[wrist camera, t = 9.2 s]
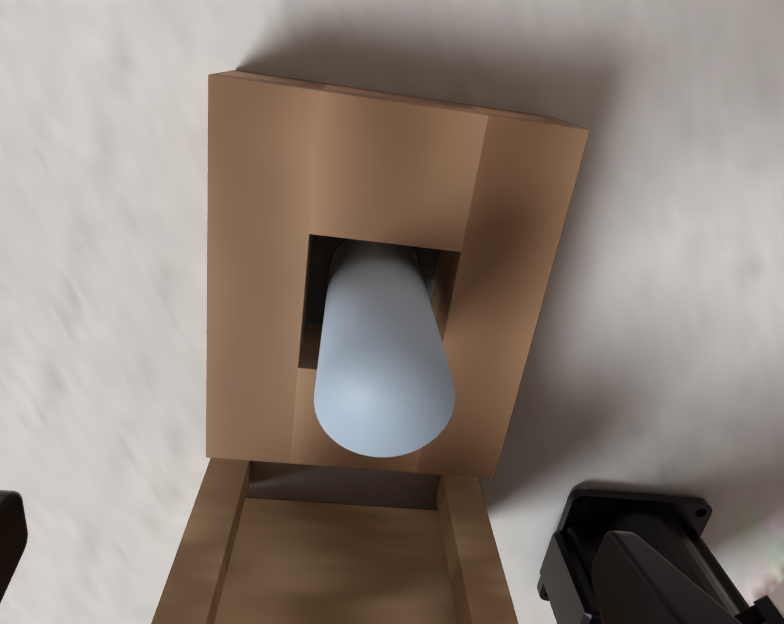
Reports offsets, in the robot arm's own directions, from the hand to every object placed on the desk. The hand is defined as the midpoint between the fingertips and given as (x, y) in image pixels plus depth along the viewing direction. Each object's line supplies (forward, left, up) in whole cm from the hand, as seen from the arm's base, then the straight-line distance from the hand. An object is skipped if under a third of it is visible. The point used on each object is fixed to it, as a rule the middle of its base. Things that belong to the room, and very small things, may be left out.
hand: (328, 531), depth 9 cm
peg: (-1, 0, -12) cm, 12 cm away
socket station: (-1, +3, -12) cm, 13 cm away
